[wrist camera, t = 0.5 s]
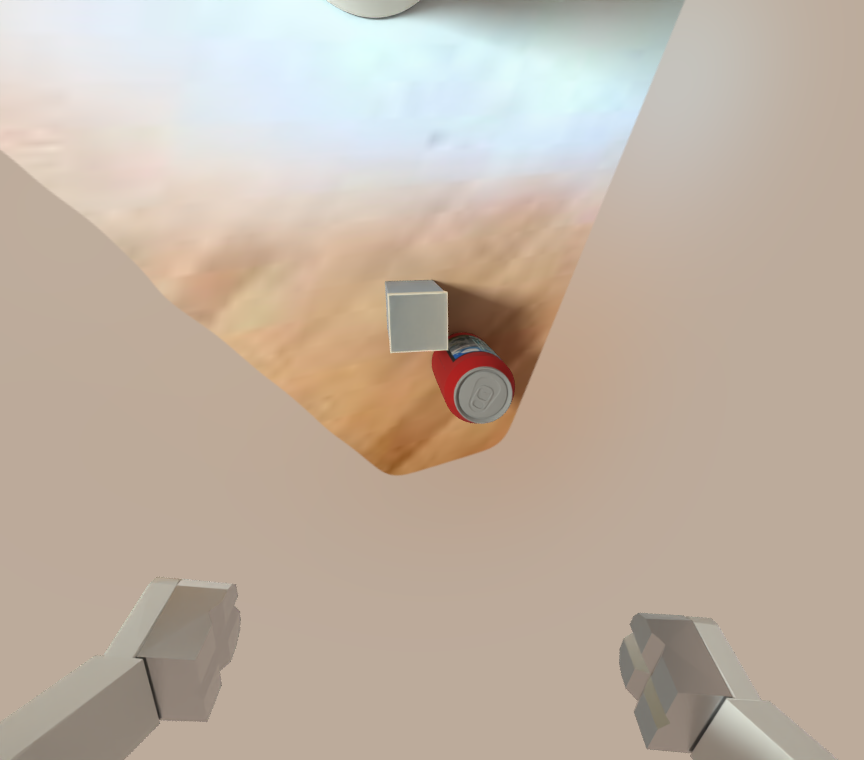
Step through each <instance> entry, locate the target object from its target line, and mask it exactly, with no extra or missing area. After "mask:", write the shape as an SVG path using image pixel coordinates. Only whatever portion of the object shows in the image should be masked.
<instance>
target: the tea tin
mask: <svg viewBox="0 0 864 760" xmlns="http://www.w3.org/2000/svg"><path fill="white" fill-rule="evenodd" d="M385 286H386V307H387V328H388V334H389V340H390V353H400V352H420V351H440V350H448V292H447V291H443V290H442V289H441V288H440V287H439V286H438V285H437V284H436V283H435V282H434V281H433V280H415V281H385Z"/></svg>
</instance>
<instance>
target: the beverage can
mask: <svg viewBox="0 0 864 760" xmlns="http://www.w3.org/2000/svg"><path fill="white" fill-rule="evenodd" d="M432 369H433V372H434V375H435V378H436V380H437V383H438V385H439V388H440V390H441V393H442V395H443V397H444V399H445V402H446V404H447V406H448V408H449V409H450V411H451V412H452V413H453V414H454V415H455V416H456V417H458V418H459V419H461V420H463V421H466V422H470V423H489V422H492V421H495V420H496V419H498V418H500V417H501V416H502V415H503V414H504V413H505V412H506V411H507V409H508V408H509V406H510V404H511V402H512V399H513V396H514V391H515V382H514V378H513V375H512V373H511V371H510V369H509V368H508V367H507V365H506V364H505V363H504V362H503V361H502V360H501V359H500V358H499V357H498V355H497V354H496V353H495V352H494V351H493V350H492V349H491V348H490V347H489V346H488V345H487V344H486V343H485V342H484V341H483V340H482V339H481V338H479V337H478V336H476V335H474V334H470V333H455V334H452V335H450V336H448V350H440V351H434V353H433V357H432Z"/></svg>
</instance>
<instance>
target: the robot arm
mask: <svg viewBox="0 0 864 760" xmlns="http://www.w3.org/2000/svg"><path fill="white" fill-rule="evenodd" d="M327 1H328V2H329V3H331V4H332V5H334V6H336V7H337V8H339V9H341V10H343V11H345V12H348V13H351V14H354V15H357V16H362V17H370V18H380V17H387V16H392V15H395V14H398V13H401V12H403V11H405V10H407V9H409V8H410V7H412V6H413V5H415V4H416V3H418V2H419V1H420V0H327ZM237 597H238V593H237V587H236V584H227V583H216V582H206V581H197V580H186V579H176V578H163V577H156V578H155V579H154V580H153V581H152V582H151V583H150V584H149V585H148V586H147V588H146V590H145V591H144V593H143V594H142V596H141V597H140V599H139V601H138V602H137V604H136V605H135V607H134V609H133V610H132V612H131V613H130V615H129V616H128V618H127V619H126V621H125V623H124V624H123V626H122V627H121V629H120V630H119V632H118V634H117V635H116V637H115V638H114V640H113V642H112V643H111V645H110V646H109V648H108V649H107V651H106V653H105V654H104V656H94V657H93V658H91V659H89V660H88V661H87V662H85V663H84V664H82V665H81V666H79V667H78V668H77V669H75V670H74V671H73V672H71V673H69V674H68V675H67V676H65V677H64V678H62V679H61V680H60V681H58V682H57V683H55V684H54V685H52V686H51V687H49V688H48V689H47V690H45V691H44V692H42V693H41V694H40V695H38V696H37V697H35V698H34V699H32V700H31V701H30V702H28V703H27V704H25V705H24V706H22V707H21V708H20V709H18V710H17V711H15V712H14V713H12V714H11V715H10V716H8V717H7V718H5V719H4V720H3V721H1V722H0V760H124V759H125V758H126V757H127V756H128V755H129V754H130V753H131V752H132V751H133V750H134V749H135V748H136V747H137V746H138V745H139V744H140V743H141V742H142V741H143V740H144V739H145V738H146V737H147V736H148V735H149V734H150V733H151V732H152V731H153V730H154V729H155V728H156V727H157V726H158V725H159V724H160V721H159V720H168V721H171V720H172V721H200V722H201V721H202V722H207V721H208V719H209V716H210V714H211V711H212V709H213V706H214V703H215V701H216V698H217V696H218V693H219V691H220V688H221V686H222V685H221V684H222V683H221V676H220V671H221V670H222V669H223V668H224V667H225V666H226V665H227V664H229V663H230V662H231V659H232V657H233V654H234V651H235V649H236V645H237V641H238V637H239V632H240V621H241V618H240V611H239V610H238V609H237V608H236V607H235V606H234V604H235V602H236V599H237ZM630 626H631V628H632V631H633V633H631V634H630V635H628V636H627V637H625V638H624V639H623V642H622V645H621V647H620V659H619V664H620V670H621V675H622V678H623V681H624V684H625V687H626V689H627V690H628V691H629V692H630V693H631V694H632V695H633V696H634V697H635V698H636V700H637V704H636V707H635V710H634V714H635V717H636V720H637V722H638V725H639V728H640V731H641V734H642V736H643V740H644V742H645V745H646V748H647V749H651V750H662V751H673V752H684V753H691V755H690V756H691V758H692V759H693V760H838V759H837V758H836V757H835V756H833V755H832V754H831V753H830V752H829V751H828V750H826V749H825V748H824V747H823V746H822V745H821V744H819V743H818V742H817V741H816V740H815V739H813V738H812V737H811V736H810V735H809V734H807V733H806V732H805V731H804V730H803V729H802V728H801V727H799V726H798V725H797V724H796V723H795V722H794V721H792V720H791V719H790V718H789V717H788V716H787V715H785V714H784V713H783V712H782V711H781V710H779V709H778V708H777V707H776V706H775V705H773V703H771V702H770V701H766V700H761V698H760V696H759V695H758V693H757V691H756V689H755V688H754V686H753V684H752V682H751V681H750V679H749V677H748V676H747V674H746V672H745V671H744V669H743V667H742V665H741V663H740V662H739V660H738V658H737V657H736V655H735V653H734V651H733V650H732V648H731V646H730V645H729V643H728V641H727V640H726V638H725V636H724V634H723V633H722V631H721V629H720V628H719V626H718V624H717V623H716V622H715V621H714V620H713V619H711V618H702V617H701V618H700V617H685V616H681V615H665V614H648V613H638V614H636V615H635V616H633V619H632V621H631V623H630Z"/></svg>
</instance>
